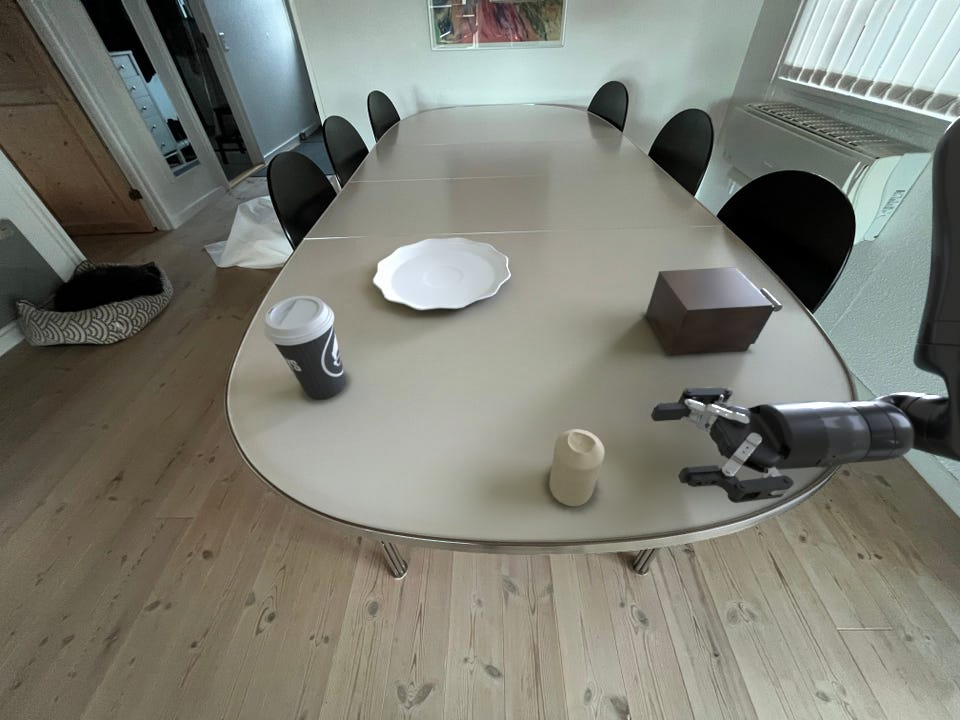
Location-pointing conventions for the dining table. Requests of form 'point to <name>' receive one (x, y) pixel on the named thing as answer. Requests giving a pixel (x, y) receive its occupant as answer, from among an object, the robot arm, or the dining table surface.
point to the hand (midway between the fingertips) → (666, 442)
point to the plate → (441, 274)
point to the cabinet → (706, 310)
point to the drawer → (775, 308)
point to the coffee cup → (307, 344)
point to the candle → (575, 466)
